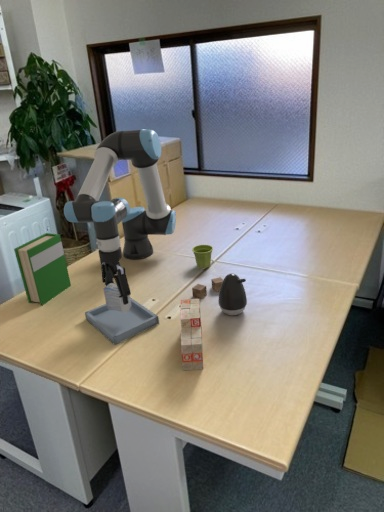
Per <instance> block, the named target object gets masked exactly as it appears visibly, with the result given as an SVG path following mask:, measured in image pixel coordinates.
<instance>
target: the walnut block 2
mask: <svg viewBox="0 0 384 512" xmlns="http://www.w3.org/2000/svg"><path fill="white" fill-rule="evenodd" d="M210 280H211V288H212V289H213V291H214V292H220V288H221V285H222V282H223V280H224V278H222V277H220V276H219V277H215V278H212V279H210Z"/></svg>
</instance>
